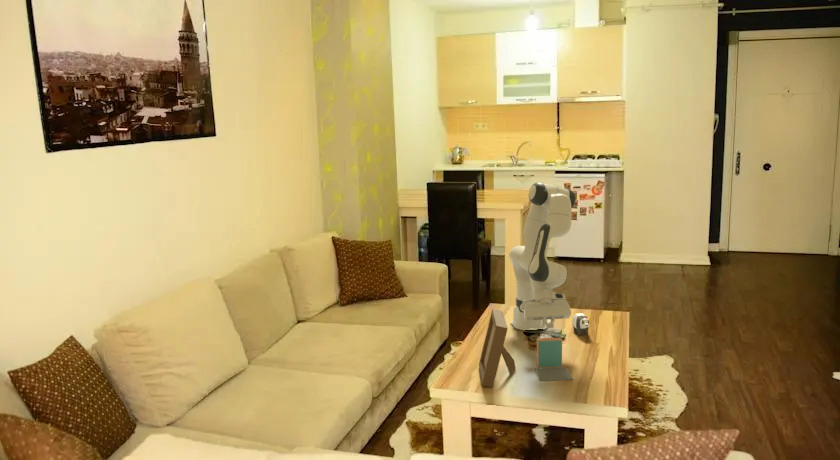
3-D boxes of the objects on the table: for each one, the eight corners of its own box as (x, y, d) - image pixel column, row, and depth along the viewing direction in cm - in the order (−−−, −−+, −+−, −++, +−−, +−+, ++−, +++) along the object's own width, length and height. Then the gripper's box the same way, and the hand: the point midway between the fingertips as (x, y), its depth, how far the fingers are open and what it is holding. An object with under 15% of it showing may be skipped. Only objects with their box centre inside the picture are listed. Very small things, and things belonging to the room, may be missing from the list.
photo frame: (481, 387, 268) (481, 325, 263) (478, 366, 289) (478, 308, 284) (520, 387, 267) (520, 325, 262) (514, 366, 288) (514, 308, 284)
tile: (560, 364, 288) (560, 337, 285) (562, 367, 285) (562, 339, 283) (536, 365, 288) (536, 338, 285) (537, 368, 285) (537, 340, 283)
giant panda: (571, 329, 331) (571, 309, 329) (582, 328, 331) (583, 309, 330) (580, 339, 317) (581, 319, 315) (592, 338, 317) (593, 318, 315)
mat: (534, 369, 284) (534, 368, 284) (566, 368, 284) (566, 367, 284) (540, 380, 272) (540, 379, 272) (573, 379, 272) (573, 378, 272)
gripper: (522, 296, 299) (527, 325, 291) (568, 294, 301) (574, 323, 293) (519, 303, 304) (525, 332, 296) (565, 301, 306) (571, 329, 298)
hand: (550, 327), depth 295 cm, fingers closed
